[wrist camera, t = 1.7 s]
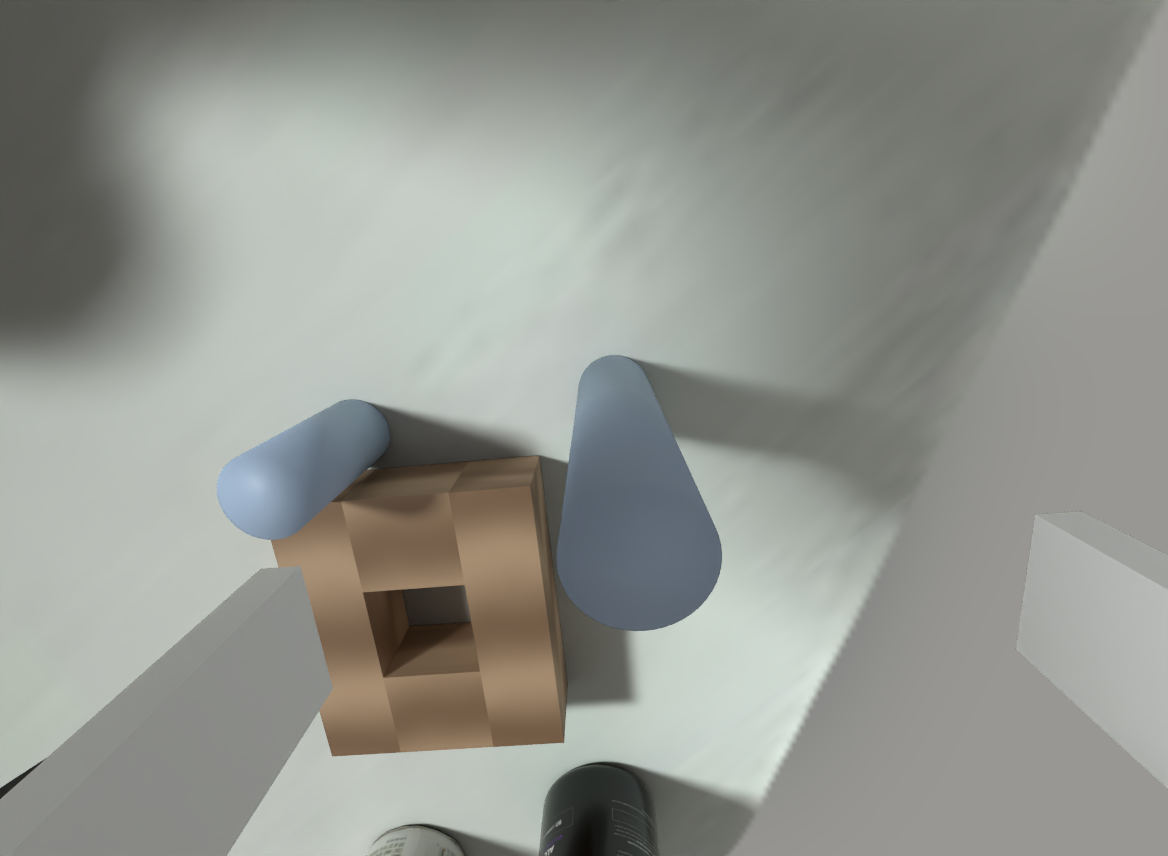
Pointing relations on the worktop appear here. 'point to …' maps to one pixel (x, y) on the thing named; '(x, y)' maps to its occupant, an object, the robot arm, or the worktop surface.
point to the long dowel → (631, 508)
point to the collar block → (443, 651)
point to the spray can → (415, 843)
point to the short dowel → (301, 469)
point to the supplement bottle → (598, 815)
